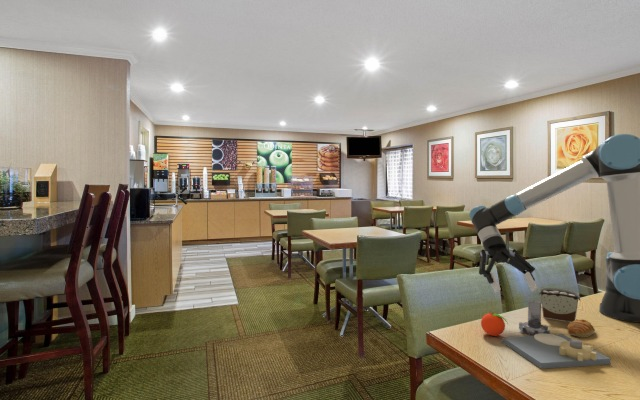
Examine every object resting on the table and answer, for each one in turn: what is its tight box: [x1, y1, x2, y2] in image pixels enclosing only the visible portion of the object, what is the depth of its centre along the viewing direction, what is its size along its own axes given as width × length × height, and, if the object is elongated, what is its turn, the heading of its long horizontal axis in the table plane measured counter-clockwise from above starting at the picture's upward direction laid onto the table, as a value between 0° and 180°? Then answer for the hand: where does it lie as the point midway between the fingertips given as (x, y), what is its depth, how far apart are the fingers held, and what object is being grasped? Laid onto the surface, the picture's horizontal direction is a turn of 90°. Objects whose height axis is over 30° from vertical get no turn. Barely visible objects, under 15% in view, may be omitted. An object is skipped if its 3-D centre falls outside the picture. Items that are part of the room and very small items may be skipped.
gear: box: [518, 299, 551, 336], centre depth 116 cm, size 9×8×10 cm
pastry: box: [567, 318, 596, 339], centre depth 115 cm, size 9×7×4 cm
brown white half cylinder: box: [538, 287, 581, 323], centre depth 129 cm, size 12×6×10 cm, turn 58°
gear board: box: [502, 333, 612, 370], centre depth 101 cm, size 20×18×5 cm
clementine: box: [480, 312, 509, 337], centre depth 113 cm, size 8×7×7 cm
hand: (516, 290), depth 123 cm, fingers open, 13 cm apart
